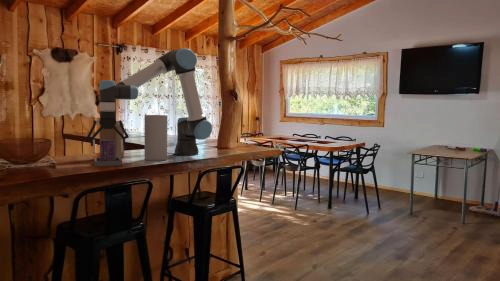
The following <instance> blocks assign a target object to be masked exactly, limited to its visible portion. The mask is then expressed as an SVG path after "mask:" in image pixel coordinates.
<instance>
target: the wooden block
mask: <svg viewBox="0 0 500 281" xmlns="http://www.w3.org/2000/svg"><path fill="white" fill-rule="evenodd" d="M122 125H123V127H124V128H125V125H124V123H123V122H122ZM100 127H101V125H100V124H99V128H100ZM115 127H116V128H117V129H118V130H119V132H120V133H121V134H122V135H123V136H125V134H124V132H123V130H122V128H121V127H120V125H119V124H118V123H116V125H115ZM104 139H112V140H114V142H115V157H120V158H121V159H122V158H124V157H125V145H123V152H121V139H123V138H122V137H121V136H120V135H119V134H118V133H117V132H116V131H115V130H114V129H113V128H112V129H104V128H103V129H102V130H101V131H100V132H99V158H101V140H104Z"/></svg>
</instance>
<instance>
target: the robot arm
mask: <svg viewBox="0 0 500 281" xmlns="http://www.w3.org/2000/svg"><path fill="white" fill-rule="evenodd" d="M197 61H198V59H197V55H196V53H195V52H194V51H193V50H192V49H190V48H184V47H182V48H179V49H172V50H169V51H167V52H166V53H164V54H163V55H161V56H159V57H158V58H156V59H155V61H154V62H153V63H150V64H149V65H148V66H145V67H144V68H142V69H140V70H138V71H137V72H135V73H133V74H131V75H130V76H128V77H127V78H124V79H123V80H121V81H119V82H118V83H116V82H115V80H109V79H107V80H106V79H104V80H103V79H102V80H100V81H99V88H98V92H99V120H95V119H94V120H93V123H92V126H91V128H90V130H89V132H88V133H87V135H86V139H88V140H90V146H91V147H92V151H93V153H92V154H95V153H96V143H95V142H96V140H95V137H97V136H98V135H99V134H100V131H101V130H102V129H103V128H104V129H112V128H113V129H114V130H115V131H116V132H117V133H118V134H119V135H120V136H121V137H122V138H123V139H121V152H123V145H124V146H126V139H129V135H128V133H127V130H126V128H125V126H124V127H123V125H122V123H123V121H122V120H121V119H120V120H116V100H129V101H130V100H131V101H133V100H136V99H137V98H138V96H139V89H138V88H140V87H142V86H143V85H145V84H146V83H148V82H150V81H152V80H153V79H155V78H157V77H158V76H160V75H162V74H163V75H164V74H167V73H169V72H173V71H174V73H175V75H176V76H177V77H178V78H179V82H180V86H181V91H182V95H183V99H184V104H185V108H186V111H187V114H188V116H185V117H179V118H178V119H177V121H176V122H177V123H176V125H177V126H176V130H177V134H176V135H177V142H176V143H175V147H174V151H173V152H174V155H176V156H195V155H196V154H197V155H199V154H198V153H200V152H199V147H198V145H197V140H199V141H202V140H206V139H208V138H210V136H211V134H212V133H213V132H212V131H213V125H212V123H211V122H210V121H208V120H207V115H206V114H205V113H203V108H202V105H201V100H200V96H199V91H198V87H197V83H196V78H195V73H196V66H197ZM116 123H118V124H119V125H120V127H121V128H122V130H123V132H124V136H123V135H122V134H121V133H120V132H119V130H118V129H117V128H116V127H115V125H116ZM98 124H99V128H98V129H97V130H96V131H95V132H94V129H95V128H96V126H98ZM100 125H101V127H100ZM93 132H94V133H93ZM92 133H93V135H92Z"/></svg>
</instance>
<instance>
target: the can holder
mask: <svg viewBox="0 0 500 281" xmlns="http://www.w3.org/2000/svg"><path fill="white" fill-rule="evenodd" d="M93 163H94V167H95V168H97V167H120V166H121V167H122V166H123V159H122V158H120V157H115V161H101V158H100V157H94V162H93Z"/></svg>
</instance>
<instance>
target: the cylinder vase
mask: <svg viewBox="0 0 500 281" xmlns="http://www.w3.org/2000/svg"><path fill="white" fill-rule="evenodd" d="M144 160H145V161H151V162H161V161H167V160H168V115H167V114H166V115H164V114H163V115H162V114H145V115H144Z"/></svg>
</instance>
